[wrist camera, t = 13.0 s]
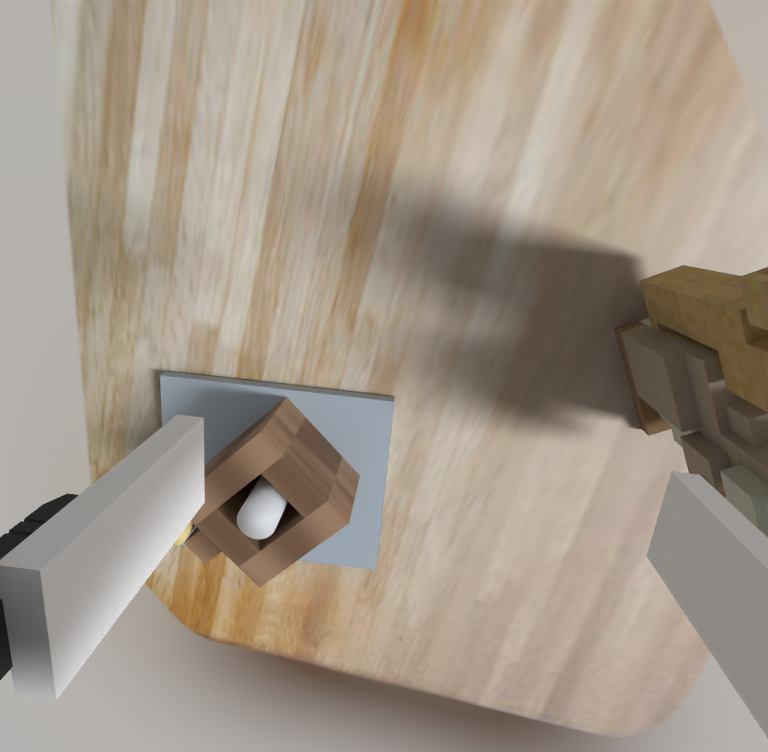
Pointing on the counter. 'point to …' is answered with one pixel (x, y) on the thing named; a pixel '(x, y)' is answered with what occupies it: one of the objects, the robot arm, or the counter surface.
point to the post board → (328, 415)
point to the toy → (707, 377)
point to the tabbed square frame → (289, 477)
